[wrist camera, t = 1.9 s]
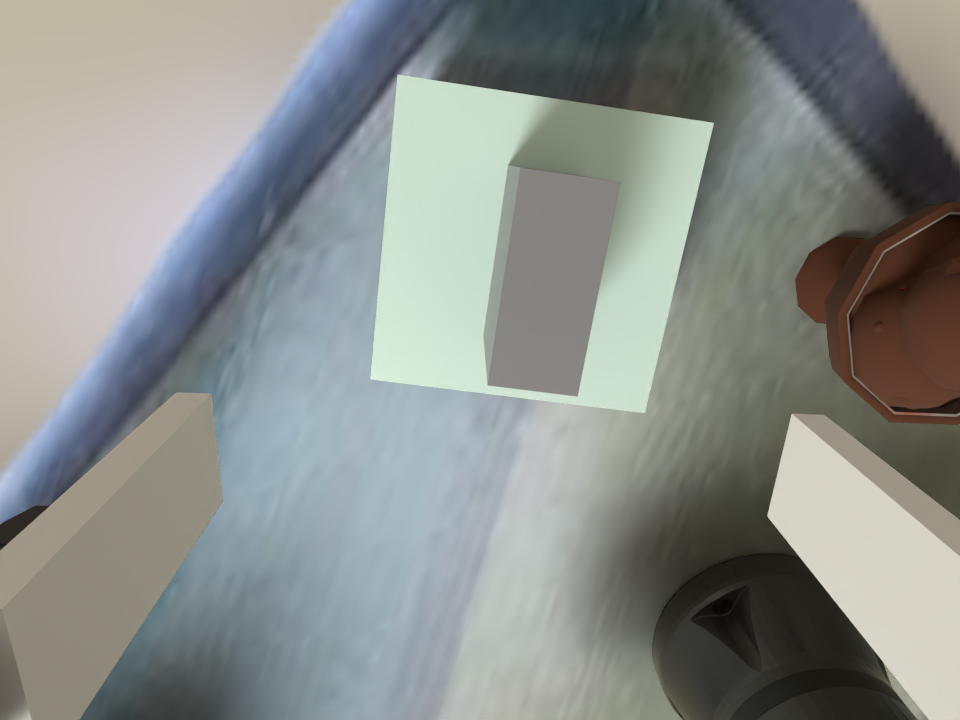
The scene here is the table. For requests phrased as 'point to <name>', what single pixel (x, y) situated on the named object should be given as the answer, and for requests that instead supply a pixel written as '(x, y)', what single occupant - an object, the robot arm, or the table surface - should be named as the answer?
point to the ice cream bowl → (894, 314)
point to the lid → (531, 243)
